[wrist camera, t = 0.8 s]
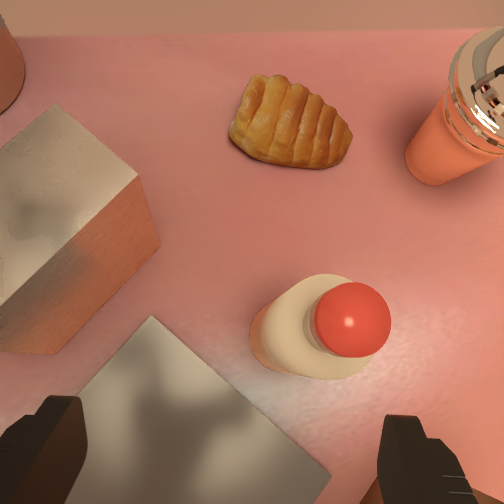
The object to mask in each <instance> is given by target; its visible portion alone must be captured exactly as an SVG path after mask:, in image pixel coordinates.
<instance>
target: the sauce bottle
mask: <svg viewBox="0 0 504 504" xmlns="http://www.w3.org/2000/svg"><path fill="white" fill-rule="evenodd" d="M390 329H391V316H390V311H389V308H388V306H387V304H386V302H385V300H384V299H383V297H382V296H381V295H380V294H379V293H378V292H377V291H376V290H374V289H373V288H371V287H369V286H367V285H365V284H362V283H357V282H353V281H351V280H349V279H347V278H344V277H342V276H338V275H333V274H319V275H314V276H311V277H308V278H306V279H304V280H302V281H300V282H299V283H297V284H296V285H295V286H293V287H292V288H290V289H289V290H288V291H286V292H285V293H284V294H282V295H281V296H279V297H278V298H277V299H275V300H274V301H272V302H271V303H270V304H268V305H267V306H266V307H264V308H263V309H262V310H261V311H259V313H258V314H257V315H256V316H255V318H254V320H253V322H252V324H251V328H250V335H249V337H250V345H251V348H252V351H253V353H254V355H255V356H256V358H257V359H258V360H259V362H261V363H262V364H263V365H264V366H265V367H267V368H269V369H271V370H273V371H277V372H282V373H288V374H294V375H300V376H306V377H312V378H318V379H325V380H338V379H343V378H346V377H349V376H351V375H353V374H355V373H357V372H358V371H360V370H361V369H362V368H363V367H364V366H365V365H366V364H367V363H368V362H369V361H370V359H371V358H372V356H373V354H374V353H375V352H377V351H378V350H379V349H380V348H381V347H382V346H383V345H384V344H385V342H386V340H387V339H388V336H389V333H390Z"/></svg>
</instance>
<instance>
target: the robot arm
mask: <svg viewBox="0 0 504 504" xmlns="http://www.w3.org/2000/svg"><path fill="white" fill-rule="evenodd" d="M24 76H25V64H24V61H23V57H22V54H21V52H20V50H19V48H18V46H17V45H16V43H15V41H14V39H13V37H12V36H11V34H10V32H9V30H8V29H7V27H6V25H5V23H4V20H3V18H2V17H1V15H0V113H1V112H3V111H4V110H5V109H6V108H8V107H9V106H10V104H11V103H12V102H13V101H14V100H15V98H16V97H17V95H18V93H19V91H20V89H21V87H22V84H23V80H24ZM87 449H88V439H87V432H86V426H85V419H84V413H83V406H82V401H81V399H80V398H79V397H74V396H55V395H50V396H48V397H47V398H46V399H45V400H44V402H43V403H42V405H41V406H40V407H39V409H38V410H37V412H36V413H35V414H34V415H24V416H23V417H22V418H20V419H19V420H18V421H17V422H15V423H14V424H13V425H11V426H10V427H9V428H7V429H6V430H5V432H4V433H3V434H2V436H1V437H0V504H65V501H66V499H67V497H68V495H69V493H70V491H71V489H72V487H73V485H74V483H75V481H76V479H77V477H78V475H79V473H80V471H81V469H82V467H83V465H84V462H85V459H86V455H87ZM377 474H378V482H379V487H380V491H381V495H382V499H383V503H384V504H478V502H477V500H476V497H475V496H473V491H472V489H471V487H470V485H469V483H468V480H467V479H465V474H464V472H463V470H462V468H461V466H460V463H459V461H458V459H457V457H456V456H455V454H454V453H453V452H452V451H451V450H450V449H449V448H448V447H447V446H446V445H445V444H444V443H443V442H442V441H441V440H440V439H432V438H427V437H426V435H425V432H424V430H423V427H422V425H421V423H420V420H419V419H418V417H417V416H407V415H389V414H387V415H386V416H385V419H384V424H383V430H382V436H381V441H380V447H379V453H378V459H377Z"/></svg>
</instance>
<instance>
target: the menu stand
mask: <svg viewBox="0 0 504 504" xmlns="http://www.w3.org/2000/svg"><path fill="white" fill-rule="evenodd" d="M471 489H472V491H473V496H475V497H476V500H477V502H478V504H504V503H503V502H501V501H499V500H497V499H495V498H493V497H491V496H488V495H486V494H484V493H482V492H480V491H478V490H476V489H473V488H471ZM360 504H384V503H383V499H382V495H381V491H380V487H379V482H378V477H377V478H376V480H375V481H374V483H373V484H372V486H371V487H370V489H369V490H368V492H367V493H366V495H365V496H364V498H363V499H362V501H361V502H360Z"/></svg>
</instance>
